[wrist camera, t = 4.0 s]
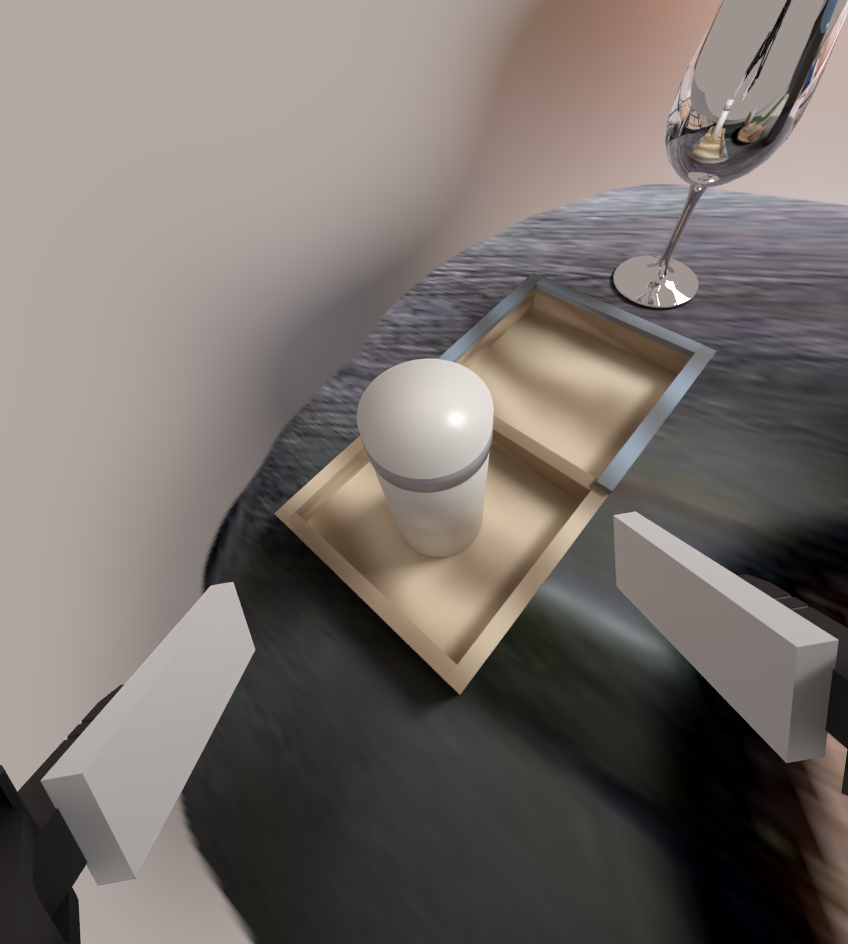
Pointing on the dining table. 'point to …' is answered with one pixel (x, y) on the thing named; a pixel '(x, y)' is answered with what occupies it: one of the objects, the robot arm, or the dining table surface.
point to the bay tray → (508, 469)
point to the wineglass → (735, 115)
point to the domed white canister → (430, 451)
